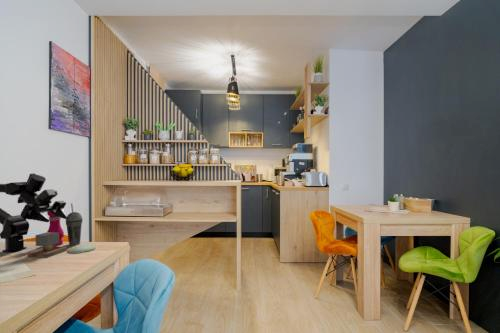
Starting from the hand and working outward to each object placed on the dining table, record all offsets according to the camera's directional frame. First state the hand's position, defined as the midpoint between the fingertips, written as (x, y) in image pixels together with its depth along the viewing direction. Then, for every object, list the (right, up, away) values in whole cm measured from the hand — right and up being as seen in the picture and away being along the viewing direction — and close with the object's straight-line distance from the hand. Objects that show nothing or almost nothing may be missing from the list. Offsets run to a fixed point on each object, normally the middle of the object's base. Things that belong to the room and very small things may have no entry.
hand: (58, 219), depth 129 cm
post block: (-4, -15, 0) cm, 15 cm away
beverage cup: (-1, -15, +15) cm, 21 cm away
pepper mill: (-11, -15, +14) cm, 23 cm away
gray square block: (-4, -11, 0) cm, 12 cm away
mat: (+8, -14, +5) cm, 17 cm away
